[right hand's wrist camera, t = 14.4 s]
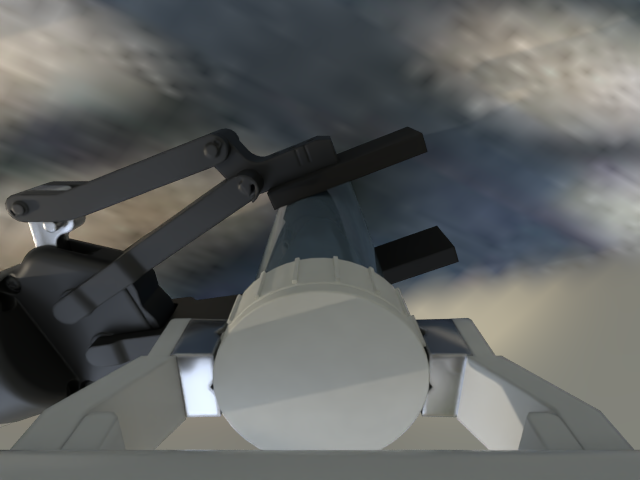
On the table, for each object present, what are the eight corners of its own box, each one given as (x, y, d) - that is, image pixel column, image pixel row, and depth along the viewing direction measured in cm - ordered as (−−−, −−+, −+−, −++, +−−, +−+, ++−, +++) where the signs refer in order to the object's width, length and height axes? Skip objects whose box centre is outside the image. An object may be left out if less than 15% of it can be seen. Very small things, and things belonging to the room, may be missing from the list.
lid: (199, 277, 9) (175, 314, 8) (399, 233, 9) (416, 264, 7) (256, 425, 11) (246, 480, 10) (426, 394, 11) (445, 447, 9)
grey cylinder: (331, 149, 22) (354, 255, 8) (366, 209, 24) (441, 392, 9) (270, 187, 23) (192, 345, 9) (308, 243, 25) (294, 459, 10)
